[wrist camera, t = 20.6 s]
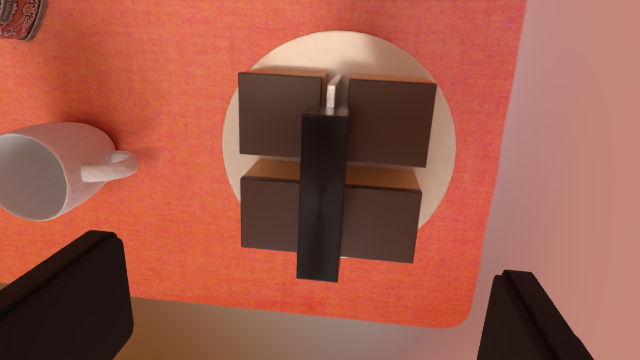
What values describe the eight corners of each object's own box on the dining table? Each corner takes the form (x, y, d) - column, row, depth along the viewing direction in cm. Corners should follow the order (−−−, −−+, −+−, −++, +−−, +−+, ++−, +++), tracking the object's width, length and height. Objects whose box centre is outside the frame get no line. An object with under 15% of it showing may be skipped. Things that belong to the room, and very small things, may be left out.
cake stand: (346, 1, 40) (330, -30, 23) (451, 107, 42) (508, 152, 25) (250, 112, 44) (177, 156, 28) (349, 203, 47) (339, 296, 30)
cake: (257, 67, 25) (237, 72, 21) (426, 77, 24) (437, 83, 20) (257, 220, 28) (240, 247, 25) (406, 233, 27) (413, 264, 24)
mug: (63, 187, 50) (-7, 220, 41) (47, 113, 47) (-33, 131, 38) (163, 190, 49) (114, 225, 39) (152, 114, 46) (97, 133, 36)
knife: (323, 74, 25) (302, 89, 17) (356, 76, 25) (350, 92, 17) (316, 224, 28) (295, 296, 20) (345, 227, 28) (336, 301, 20)
